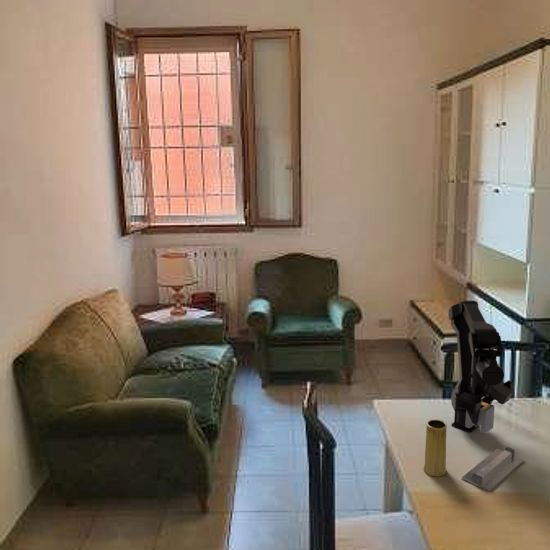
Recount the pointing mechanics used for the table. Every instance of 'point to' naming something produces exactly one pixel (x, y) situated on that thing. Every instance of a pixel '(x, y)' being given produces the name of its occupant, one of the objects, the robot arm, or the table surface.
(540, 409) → the table surface
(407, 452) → the table surface
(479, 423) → the grey slider block
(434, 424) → the vase
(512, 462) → the rail
